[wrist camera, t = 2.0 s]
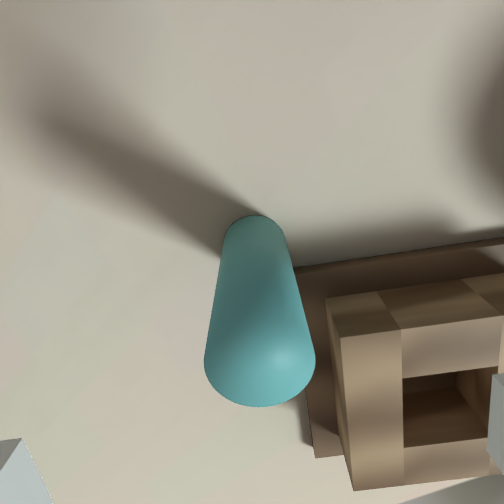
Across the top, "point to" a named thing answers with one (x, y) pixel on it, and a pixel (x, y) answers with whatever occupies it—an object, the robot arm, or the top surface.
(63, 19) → the top surface
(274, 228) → the peg
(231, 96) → the top surface
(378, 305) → the socket
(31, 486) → the robot arm
